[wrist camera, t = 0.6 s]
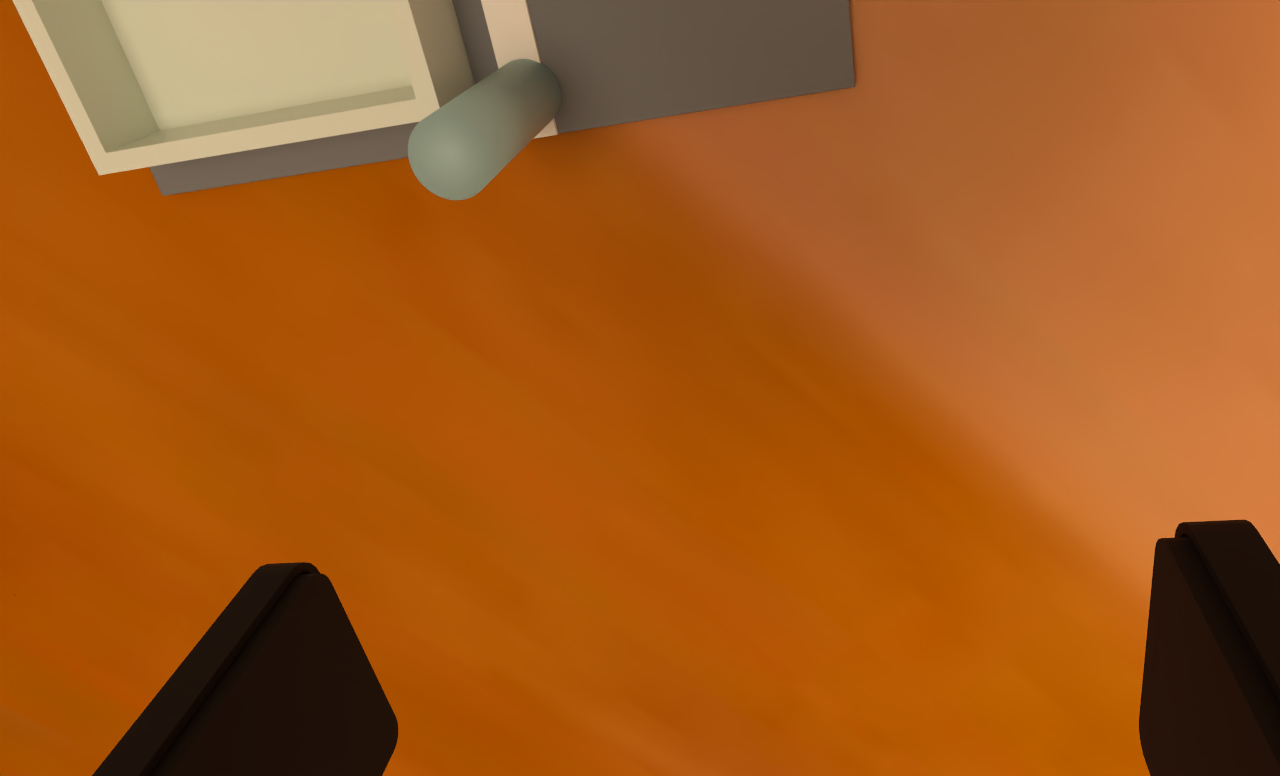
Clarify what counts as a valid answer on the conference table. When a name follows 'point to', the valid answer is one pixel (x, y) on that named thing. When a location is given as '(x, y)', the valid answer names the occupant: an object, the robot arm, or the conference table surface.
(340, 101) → the tray
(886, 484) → the conference table surface
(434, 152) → the post
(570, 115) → the mat
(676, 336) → the conference table surface
